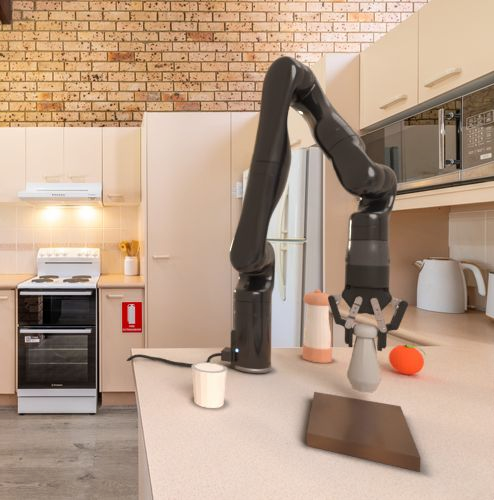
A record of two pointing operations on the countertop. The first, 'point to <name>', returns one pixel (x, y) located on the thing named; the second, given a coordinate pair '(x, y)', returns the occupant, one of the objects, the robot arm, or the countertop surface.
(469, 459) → the countertop surface
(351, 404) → the cutting board
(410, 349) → the clementine
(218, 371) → the white short cylinder
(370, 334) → the salt shaker
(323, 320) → the pepper shaker
